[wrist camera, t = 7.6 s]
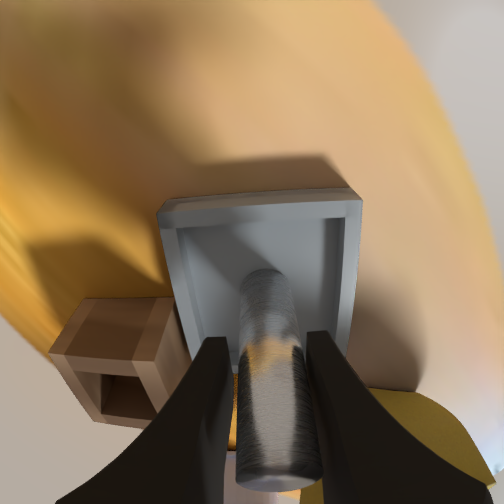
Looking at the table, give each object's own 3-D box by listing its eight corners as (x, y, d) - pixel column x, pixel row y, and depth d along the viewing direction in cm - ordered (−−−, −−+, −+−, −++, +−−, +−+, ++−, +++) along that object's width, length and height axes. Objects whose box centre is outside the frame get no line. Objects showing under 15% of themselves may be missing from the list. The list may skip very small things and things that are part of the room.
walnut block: (196, 371, 16) (185, 432, 13) (114, 367, 16) (93, 421, 13) (175, 297, 14) (154, 361, 10) (83, 298, 14) (47, 352, 11)
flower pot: (285, 437, 20) (291, 551, 12) (346, 359, 16) (383, 516, 8) (383, 441, 21) (405, 534, 13) (452, 373, 17) (500, 481, 9)
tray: (338, 344, 15) (344, 365, 14) (200, 352, 16) (196, 373, 14) (350, 187, 12) (362, 199, 10) (167, 199, 12) (156, 213, 10)
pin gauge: (290, 308, 13) (318, 487, 6) (242, 310, 13) (239, 493, 6) (290, 266, 12) (329, 457, 5) (238, 269, 12) (230, 464, 5)
